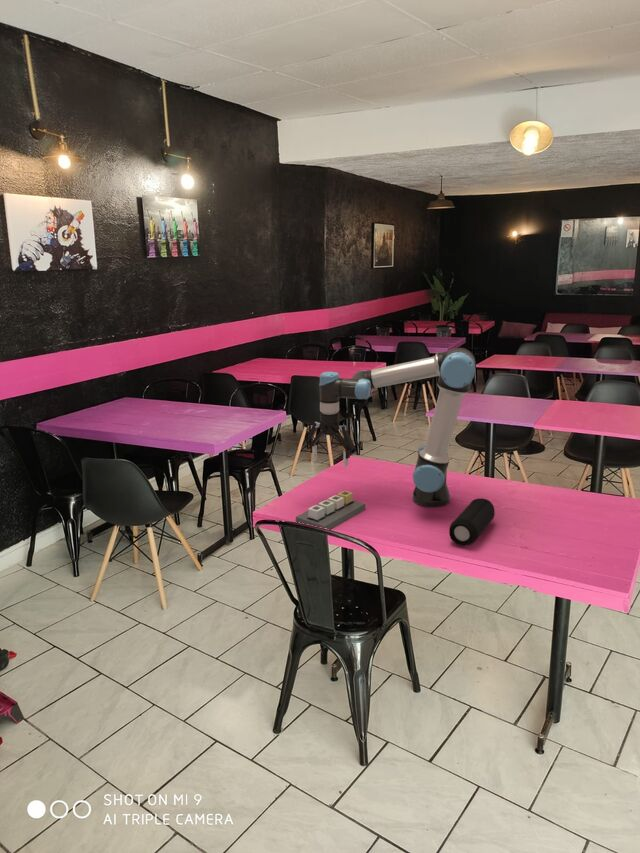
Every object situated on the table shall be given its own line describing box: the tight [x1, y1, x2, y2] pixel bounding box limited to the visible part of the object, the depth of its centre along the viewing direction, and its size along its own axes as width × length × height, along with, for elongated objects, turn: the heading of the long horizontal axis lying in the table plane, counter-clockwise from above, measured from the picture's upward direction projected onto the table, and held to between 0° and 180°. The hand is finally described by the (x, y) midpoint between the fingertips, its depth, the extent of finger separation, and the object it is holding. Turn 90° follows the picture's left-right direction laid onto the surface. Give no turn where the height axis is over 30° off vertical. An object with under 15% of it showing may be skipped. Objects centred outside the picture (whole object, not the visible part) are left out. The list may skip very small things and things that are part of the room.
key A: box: [317, 499, 335, 515], centre depth 240 cm, size 4×4×4 cm
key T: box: [327, 494, 344, 509], centre depth 244 cm, size 4×4×4 cm
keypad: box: [295, 499, 366, 530], centre depth 243 cm, size 14×26×2 cm, turn 141°
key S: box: [336, 490, 354, 504], centre depth 248 cm, size 4×4×4 cm
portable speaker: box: [448, 497, 496, 547], centre depth 225 cm, size 26×10×10 cm, turn 148°
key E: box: [307, 504, 325, 520], centre depth 235 cm, size 4×4×4 cm
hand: (330, 463), depth 249 cm, fingers open, 13 cm apart
